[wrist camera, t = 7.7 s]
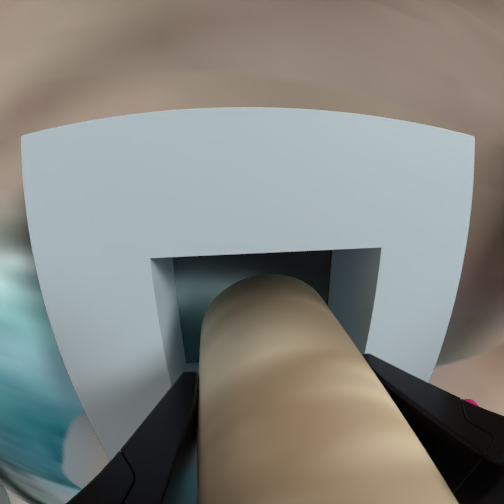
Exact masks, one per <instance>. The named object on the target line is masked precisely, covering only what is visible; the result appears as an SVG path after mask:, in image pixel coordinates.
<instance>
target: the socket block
mask: <svg viewBox="0 0 504 504" xmlns="http://www.w3.org/2000/svg"><path fill="white" fill-rule="evenodd" d="M474 152H475V136H471V135H467V134H463V133H459V132H455V131H451V130H447V129H443V128H438V127H434V126H429V125H424V124H419V123H414V122H408V121H402V120H397V119H390V118H384V117H377V116H370V115H362V114H354V113H345V112H335V111H324V110H311V109H294V108H267V107H225V108H198V109H181V110H168V111H157V112H147V113H138V114H130V115H123V116H115V117H109V118H102V119H96V120H90V121H85V122H79V123H74V124H69V125H64V126H60V127H55V128H51V129H46V130H42V131H38V132H34V133H30V134H26V135H22V136H21V154H22V174H23V187H24V197H25V206H26V214H27V222H28V228H29V235H30V241H31V246H32V252H33V257H34V262H35V266H36V271H37V275H38V280H39V284H40V288H41V292H42V296H43V300H44V303H45V307H46V311H47V314H48V317H49V321H50V324H51V327H52V330H53V333H54V336H55V339H56V342H57V345H58V348H59V351H60V354H61V357H62V359H63V362H64V365H65V367H66V370H67V372H68V375H69V377H70V380H71V382H72V385H73V387H74V389H75V392H76V394H77V396H78V398H79V401H80V403H81V405H82V407H83V409H84V411H85V414H86V416H87V418H88V420H89V422H90V424H91V426H92V428H93V430H94V432H95V434H96V435H97V437H98V439H99V441H100V443H101V445H102V447H103V448H104V450H105V452H106V454H107V455H108V457H109V459H110V461H111V460H112V458H113V457H114V456H115V455H116V454H117V452H118V451H121V450H120V449H121V448H122V447H123V445H124V444H125V443H126V442H127V441H128V439H129V438H130V437H131V436H132V434H133V433H134V432H135V431H136V430H137V428H138V427H139V426H140V425H141V423H142V422H143V421H144V420H145V418H146V417H147V416H148V415H149V414H150V412H151V411H152V410H153V409H154V407H155V406H156V405H157V404H158V402H159V401H160V400H161V399H162V397H163V396H164V395H165V394H166V392H167V391H168V390H169V389H170V387H171V386H172V385H173V384H174V382H175V381H176V380H177V379H178V377H179V376H180V375H181V374H182V373H183V372H185V371H197V372H198V373H199V363H186V358H185V352H184V345H183V338H182V331H181V324H180V316H179V308H178V300H177V291H176V282H175V273H174V263H173V257H187V256H209V255H230V254H252V253H274V252H295V251H316V250H332V261H331V274H330V286H329V297H328V307H329V309H330V310H331V311H332V313H333V314H334V316H335V317H336V319H337V320H338V321H339V323H340V324H341V326H342V327H343V328H344V330H345V331H346V333H347V334H348V336H349V337H350V338H351V340H352V341H353V343H354V344H355V346H356V347H357V349H358V350H359V351H360V353H361V354H366V353H369V354H372V355H374V356H376V357H378V358H380V359H382V360H383V361H385V362H387V363H389V364H391V365H393V366H395V367H397V368H399V369H401V370H403V371H405V372H407V373H409V374H411V375H413V376H415V377H417V378H419V379H422V380H424V381H426V382H428V383H429V381H430V379H431V376H432V373H433V370H434V368H435V365H436V362H437V359H438V357H439V354H440V351H441V348H442V344H443V341H444V338H445V335H446V331H447V328H448V325H449V321H450V317H451V314H452V310H453V306H454V302H455V298H456V294H457V290H458V285H459V281H460V276H461V271H462V266H463V261H464V255H465V249H466V243H467V237H468V230H469V222H470V214H471V204H472V193H473V179H474Z"/></svg>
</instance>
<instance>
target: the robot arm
mask: <svg viewBox="0 0 504 504" xmlns="http://www.w3.org/2000/svg"><path fill="white" fill-rule="evenodd" d="M362 356H363V357H364V359H365V360H366V362H367V363H368V364H369V366H370V367H371V369H372V370H373V372H374V373H375V375H376V376H377V378H378V379H379V381H380V382H381V384H382V385H383V387H384V388H385V389H386V391H387V392H388V394H389V395H390V397H391V398H392V400H393V401H394V403H395V404H396V406H397V407H398V409H399V410H400V412H401V413H402V415H403V416H404V418H405V419H406V421H407V423H408V424H409V426H410V427H411V429H412V430H413V432H414V433H415V435H416V436H417V438H418V439H419V441H420V442H421V444H422V446H423V447H424V449H425V450H426V452H427V453H428V455H429V456H430V458H431V460H432V461H433V463H434V464H435V466H436V468H437V469H438V471H439V472H440V474H441V476H442V477H443V479H444V480H445V482H446V484H447V485H448V487H449V488H450V490H451V492H452V493H453V495H454V497H455V498H456V500H457V501H458V503H459V504H504V416H502V415H499V414H496V413H494V412H491V411H488V410H486V409H483V408H481V407H479V406H476V405H474V404H472V403H470V402H468V401H465V400H463V399H462V400H461V399H460V398H459V397H457V396H455V395H453V394H450V393H448V392H446V391H444V390H442V389H440V388H438V387H436V386H434V385H432V384H430V383H428V382H426V381H424V380H422V379H419V378H417V377H415V376H413V375H411V374H409V373H407V372H405V371H403V370H401V369H399V368H397V367H395V366H393V365H391V364H389V363H387V362H385V361H383V360H382V359H380V358H378V357H376V356H374V355H372V354H369V353H366V354H362ZM198 388H199V373H198V372H197V371H185V372H183V373H182V374H181V375H180V376H179V377H178V379H177V380H176V381H175V382H174V384H173V385H172V386H171V387H170V389H169V390H168V391H167V392H166V394H165V395H164V396H163V397H162V399H161V400H160V401H159V402H158V404H157V405H156V406H155V407H154V409H153V410H152V411H151V412H150V414H149V415H148V416H147V417H146V418H145V420H144V421H143V422H142V423H141V425H140V426H139V427H138V428H137V430H136V431H135V432H134V433H133V434H132V436H131V437H130V438H129V439H128V441H127V442H126V443H125V444H124V445H123V447H122V448H121V449H120V450H121V451H118V452H117V454H116V455H115V456H114V457H113V458H112V460H111V461H110V462H109V463H108V464H107V465H106V466H105V468H104V469H103V470H102V471H101V472H100V473H99V474H98V475H97V476H96V477H95V478H94V479H93V480H92V481H91V482H90V483H89V484H88V485H87V486H86V487H84V488H83V489H82V490H81V491H80V492H79V493H78V494H77V495H75V496H74V497H73V498H72V499H71V500H70V501H69V502H67V503H66V504H197V420H198Z"/></svg>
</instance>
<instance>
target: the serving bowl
mask: <svg viewBox="0 0 504 504" xmlns="http://www.w3.org/2000/svg"><path fill="white" fill-rule="evenodd" d="M0 504H11V503H10V500H9V497H8V494H7V492H6V490H5V488H4V486H3V484H2V482H1V480H0Z"/></svg>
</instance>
